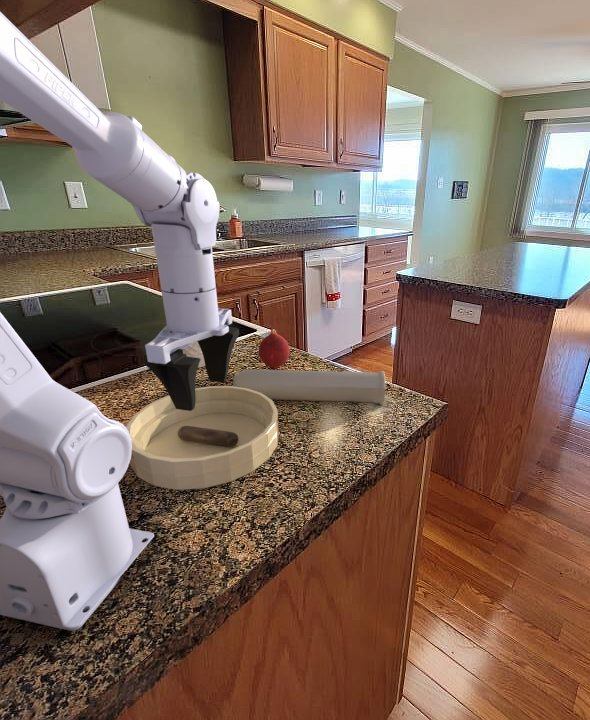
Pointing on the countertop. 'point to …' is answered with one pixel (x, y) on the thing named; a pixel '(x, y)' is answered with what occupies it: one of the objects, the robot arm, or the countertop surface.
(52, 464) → the robot arm
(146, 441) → the bowl
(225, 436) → the stick
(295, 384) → the tube
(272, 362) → the onion
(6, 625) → the countertop surface
